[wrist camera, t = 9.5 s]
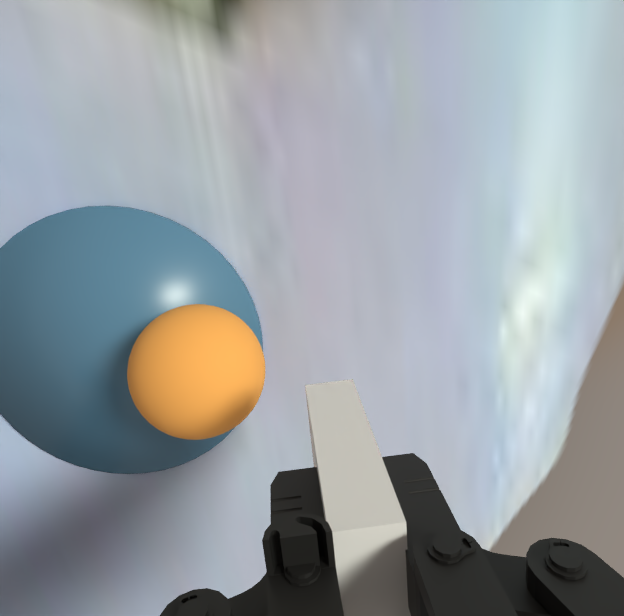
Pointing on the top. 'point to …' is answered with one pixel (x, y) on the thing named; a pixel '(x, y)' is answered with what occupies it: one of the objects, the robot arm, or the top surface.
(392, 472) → the robot arm
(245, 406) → the ball
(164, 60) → the top surface
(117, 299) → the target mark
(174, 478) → the top surface
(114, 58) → the top surface
